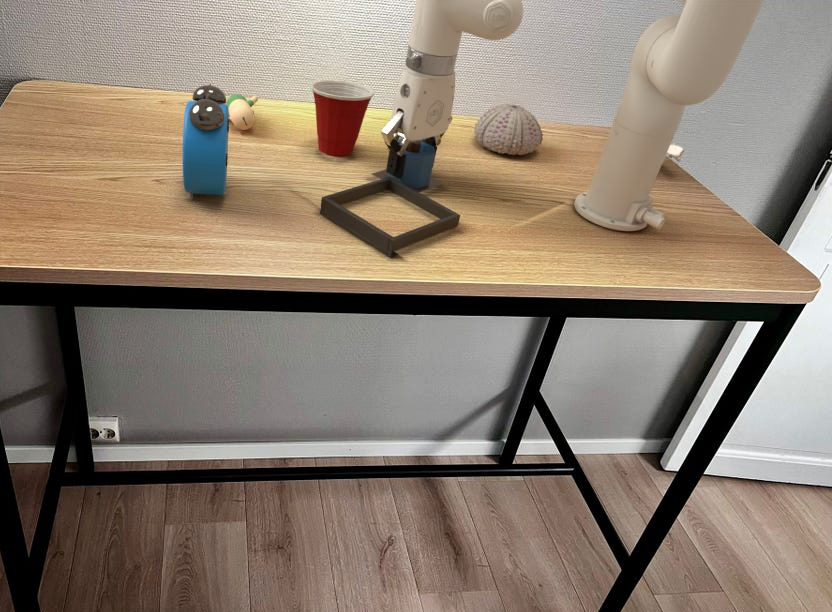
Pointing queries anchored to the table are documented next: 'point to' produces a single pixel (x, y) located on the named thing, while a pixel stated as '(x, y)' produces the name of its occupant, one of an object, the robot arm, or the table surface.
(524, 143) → the sea urchin shell
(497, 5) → the robot arm
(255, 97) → the toy figurine
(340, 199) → the tray
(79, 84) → the table surface
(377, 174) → the dowel stand
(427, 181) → the ring
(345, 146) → the plastic cup
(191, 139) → the alarm clock
